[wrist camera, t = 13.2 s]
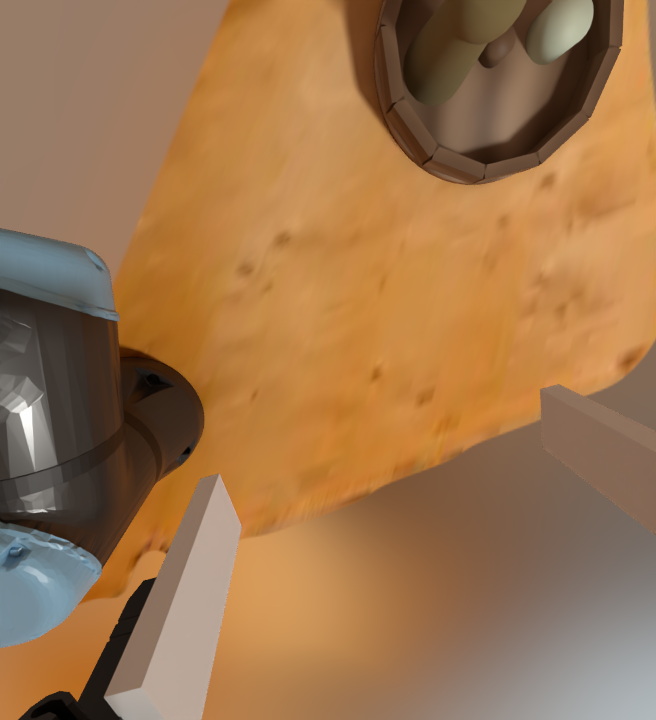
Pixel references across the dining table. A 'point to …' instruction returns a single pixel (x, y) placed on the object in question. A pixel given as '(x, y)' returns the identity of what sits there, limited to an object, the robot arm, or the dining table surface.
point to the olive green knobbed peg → (454, 45)
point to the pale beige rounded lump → (558, 29)
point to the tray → (494, 94)
